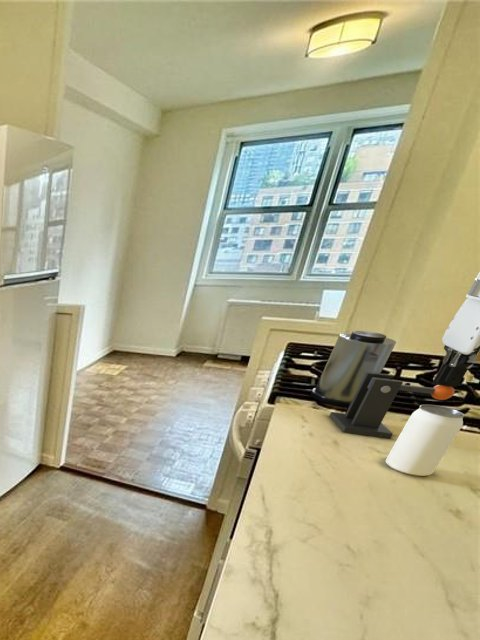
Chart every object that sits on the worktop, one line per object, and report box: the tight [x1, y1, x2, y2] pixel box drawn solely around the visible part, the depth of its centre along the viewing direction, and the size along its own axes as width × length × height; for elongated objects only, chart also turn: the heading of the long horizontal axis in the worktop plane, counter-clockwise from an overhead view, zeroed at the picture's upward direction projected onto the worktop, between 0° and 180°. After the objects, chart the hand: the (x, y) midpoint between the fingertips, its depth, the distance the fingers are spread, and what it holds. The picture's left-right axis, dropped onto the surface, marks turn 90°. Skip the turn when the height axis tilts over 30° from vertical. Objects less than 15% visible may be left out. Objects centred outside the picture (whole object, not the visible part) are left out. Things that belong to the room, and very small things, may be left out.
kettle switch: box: [367, 377, 455, 401], centre depth 101 cm, size 13×3×3 cm, turn 66°
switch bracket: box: [328, 372, 404, 439], centre depth 105 cm, size 8×9×12 cm
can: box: [385, 404, 466, 477], centre depth 89 cm, size 6×6×12 cm
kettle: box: [309, 330, 397, 409], centre depth 117 cm, size 11×14×17 cm
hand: (444, 384), depth 98 cm, fingers closed
